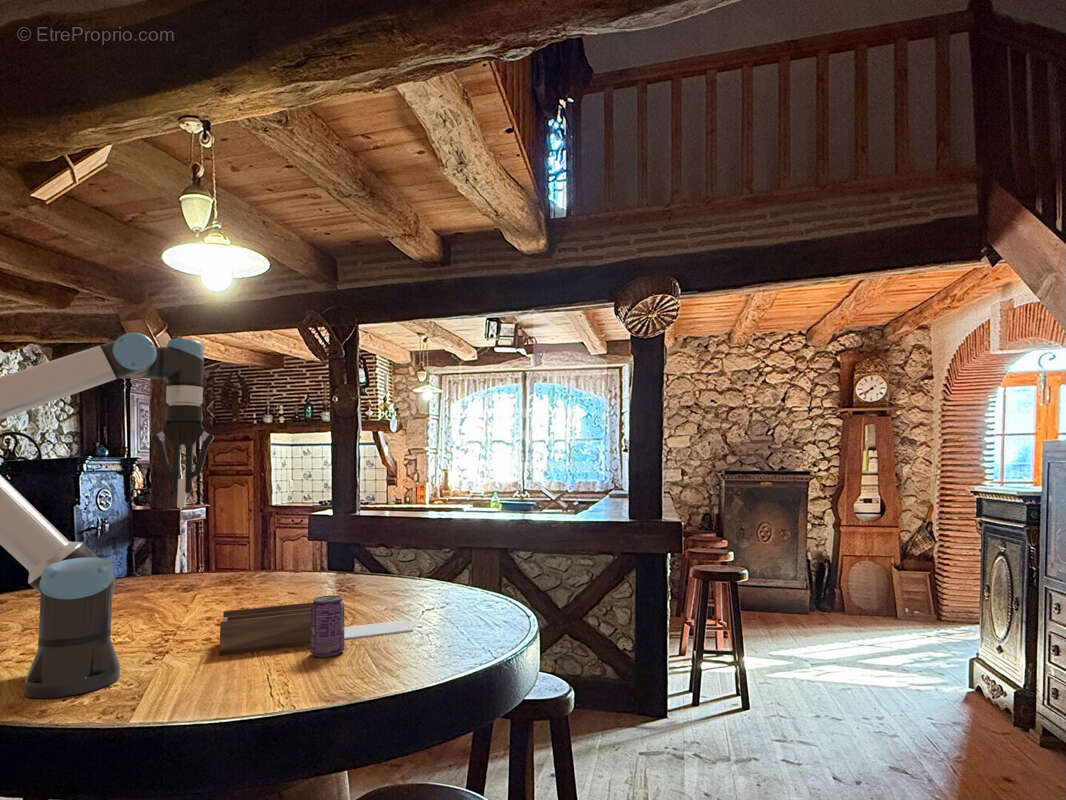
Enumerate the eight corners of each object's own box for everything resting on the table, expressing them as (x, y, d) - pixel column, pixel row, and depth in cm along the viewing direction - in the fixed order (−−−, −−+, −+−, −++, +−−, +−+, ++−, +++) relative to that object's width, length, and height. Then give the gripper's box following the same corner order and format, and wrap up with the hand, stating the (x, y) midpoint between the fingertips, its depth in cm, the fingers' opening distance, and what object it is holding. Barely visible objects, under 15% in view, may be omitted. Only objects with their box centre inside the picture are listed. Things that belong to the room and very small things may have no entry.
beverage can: (332, 647, 147) (332, 593, 148) (350, 652, 143) (351, 597, 144) (304, 655, 142) (304, 599, 143) (322, 660, 137) (322, 602, 139)
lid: (413, 633, 160) (412, 617, 160) (323, 644, 152) (323, 627, 152) (404, 624, 170) (404, 608, 170) (320, 633, 162) (320, 617, 162)
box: (324, 642, 151) (324, 611, 152) (219, 655, 143) (220, 622, 144) (320, 630, 162) (320, 601, 163) (223, 642, 154) (223, 611, 155)
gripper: (216, 407, 157) (214, 505, 155) (155, 406, 153) (151, 507, 150) (214, 404, 151) (211, 506, 148) (149, 403, 146) (146, 509, 143)
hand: (181, 507), depth 149 cm, fingers closed
